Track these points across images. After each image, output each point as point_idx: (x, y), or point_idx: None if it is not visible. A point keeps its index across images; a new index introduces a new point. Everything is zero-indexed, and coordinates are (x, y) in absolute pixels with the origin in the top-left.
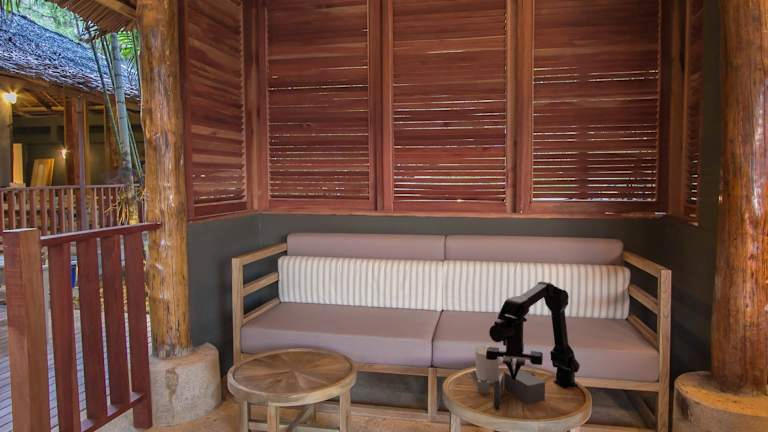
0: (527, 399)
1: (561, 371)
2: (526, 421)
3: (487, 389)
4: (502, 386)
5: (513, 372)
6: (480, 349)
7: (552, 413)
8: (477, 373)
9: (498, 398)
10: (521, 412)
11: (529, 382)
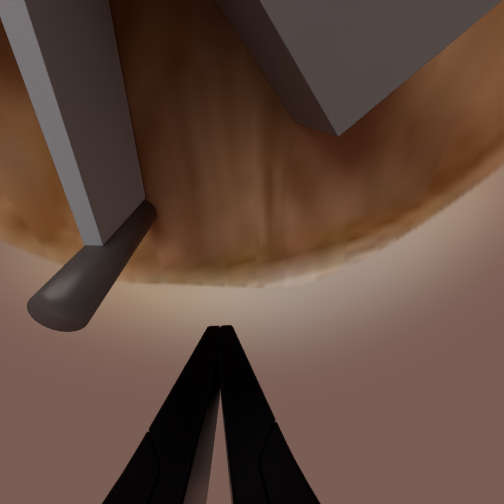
0: (300, 120)
1: None
2: (280, 280)
3: None
4: None
5: (211, 423)
6: None
7: (397, 190)
8: None
9: (139, 243)
10: (262, 220)
11: (368, 29)
